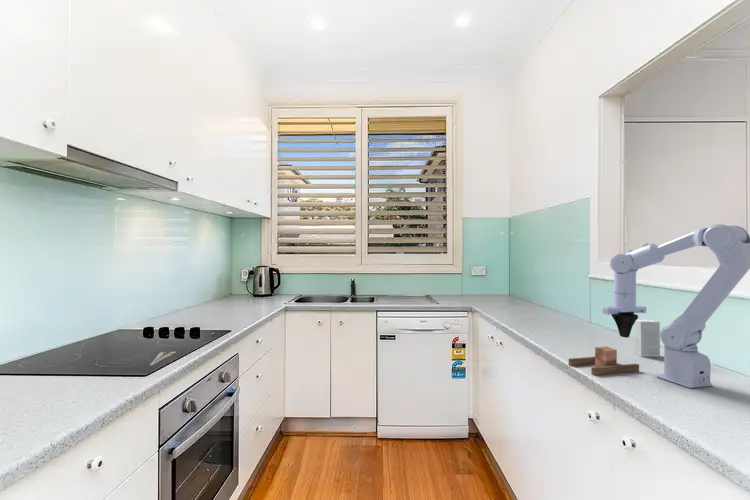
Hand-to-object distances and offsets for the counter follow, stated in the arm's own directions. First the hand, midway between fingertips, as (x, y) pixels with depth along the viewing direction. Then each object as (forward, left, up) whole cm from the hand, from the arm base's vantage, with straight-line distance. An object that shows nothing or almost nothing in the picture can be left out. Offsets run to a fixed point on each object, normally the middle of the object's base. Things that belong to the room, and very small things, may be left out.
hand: (624, 336), depth 117 cm
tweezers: (+39, +142, -10) cm, 148 cm away
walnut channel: (0, +8, -9) cm, 12 cm away
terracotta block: (0, +7, -9) cm, 12 cm away
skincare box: (+8, -18, -9) cm, 22 cm away
